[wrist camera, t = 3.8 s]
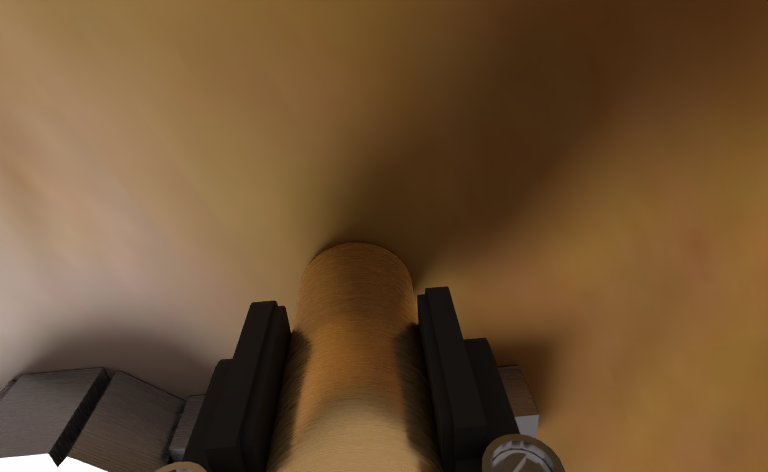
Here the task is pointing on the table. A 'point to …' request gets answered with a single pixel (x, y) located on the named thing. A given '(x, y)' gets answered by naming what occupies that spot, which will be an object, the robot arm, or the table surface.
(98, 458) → the studded octagon ring bar
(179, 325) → the table surface
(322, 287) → the pin
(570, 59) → the table surface
